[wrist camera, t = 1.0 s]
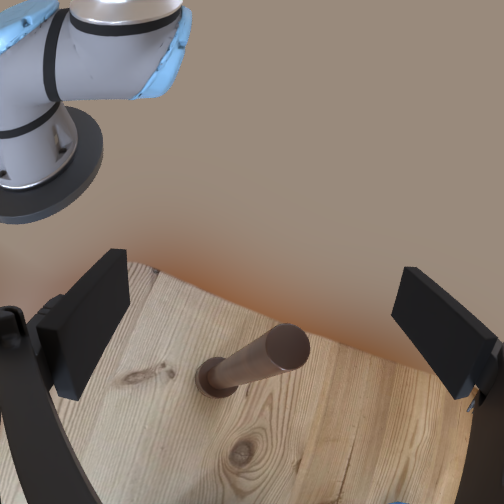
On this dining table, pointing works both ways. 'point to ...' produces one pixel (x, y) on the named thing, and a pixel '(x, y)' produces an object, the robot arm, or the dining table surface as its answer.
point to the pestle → (255, 361)
